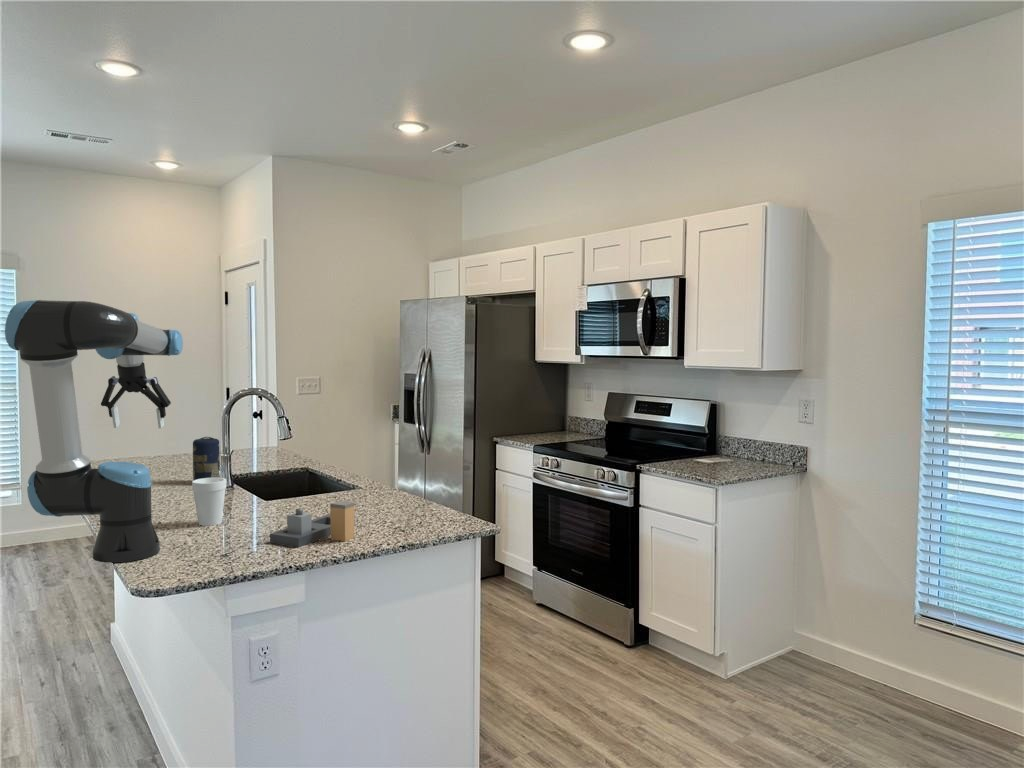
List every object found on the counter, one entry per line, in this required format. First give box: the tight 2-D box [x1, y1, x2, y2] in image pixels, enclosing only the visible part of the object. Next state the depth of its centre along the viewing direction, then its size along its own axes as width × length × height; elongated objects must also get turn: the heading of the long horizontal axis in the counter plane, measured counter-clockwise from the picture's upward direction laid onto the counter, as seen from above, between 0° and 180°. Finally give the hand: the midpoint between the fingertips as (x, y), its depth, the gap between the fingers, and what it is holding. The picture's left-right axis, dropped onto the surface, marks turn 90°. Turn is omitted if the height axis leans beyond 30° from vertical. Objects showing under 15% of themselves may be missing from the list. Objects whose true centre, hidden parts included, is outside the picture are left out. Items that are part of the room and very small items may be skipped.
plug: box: [329, 500, 355, 542], centre depth 199 cm, size 4×5×10 cm
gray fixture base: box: [269, 508, 356, 548], centre depth 203 cm, size 24×10×8 cm, turn 155°
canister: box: [192, 436, 221, 481], centre depth 275 cm, size 10×10×18 cm
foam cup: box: [191, 477, 227, 527], centre depth 215 cm, size 10×9×13 cm
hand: (139, 426), depth 228 cm, fingers open, 13 cm apart
